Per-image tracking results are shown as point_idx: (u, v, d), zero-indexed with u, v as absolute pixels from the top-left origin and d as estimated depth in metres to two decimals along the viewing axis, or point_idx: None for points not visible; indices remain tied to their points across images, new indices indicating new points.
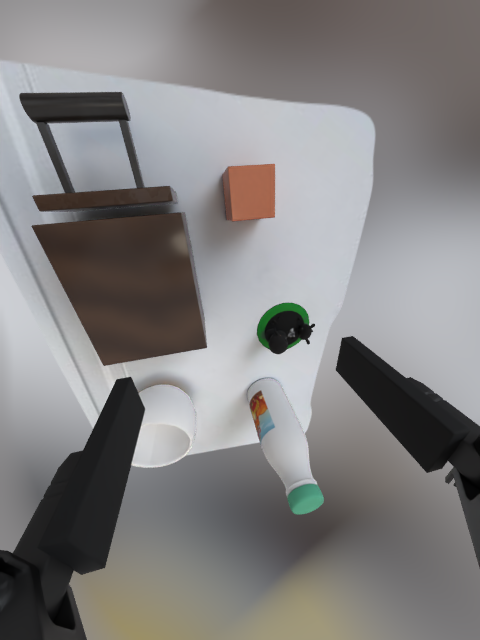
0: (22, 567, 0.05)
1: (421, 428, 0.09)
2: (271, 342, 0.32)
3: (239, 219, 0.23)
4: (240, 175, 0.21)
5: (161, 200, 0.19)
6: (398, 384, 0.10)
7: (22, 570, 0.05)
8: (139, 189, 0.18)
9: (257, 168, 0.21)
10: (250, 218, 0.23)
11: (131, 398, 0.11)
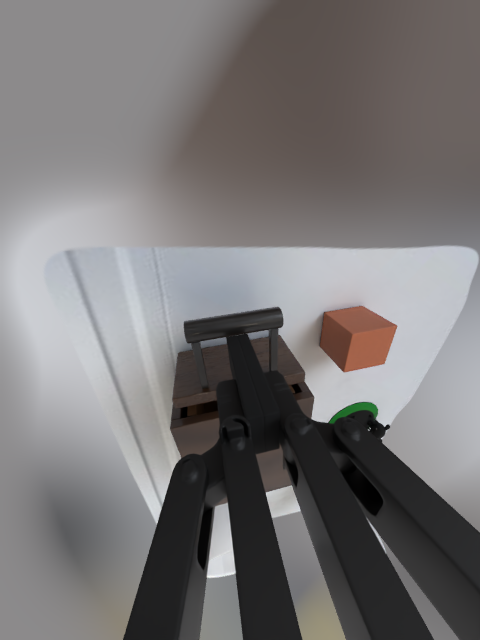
0: (249, 435, 0.08)
1: None
2: None
3: (350, 370, 0.22)
4: (362, 338, 0.20)
5: (293, 383, 0.18)
6: (252, 375, 0.11)
7: (248, 437, 0.08)
8: None
9: (379, 331, 0.20)
10: (361, 368, 0.22)
11: None
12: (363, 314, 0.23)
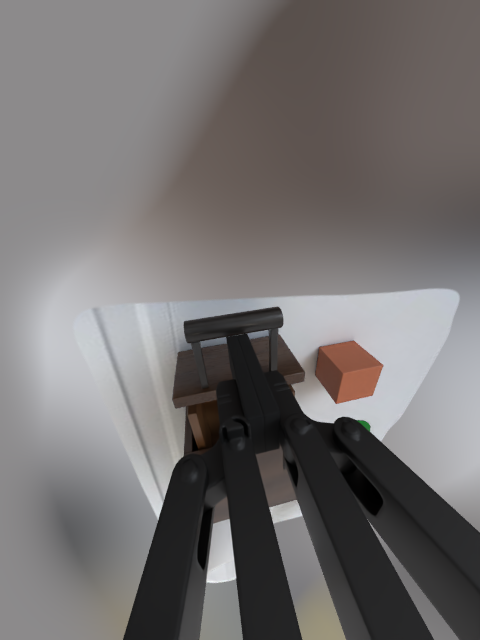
0: (249, 435, 0.08)
1: None
2: None
3: (342, 401, 0.25)
4: (352, 376, 0.23)
5: (293, 383, 0.18)
6: (252, 375, 0.11)
7: (248, 437, 0.08)
8: None
9: (367, 370, 0.23)
10: (351, 399, 0.25)
11: None
12: (354, 350, 0.25)
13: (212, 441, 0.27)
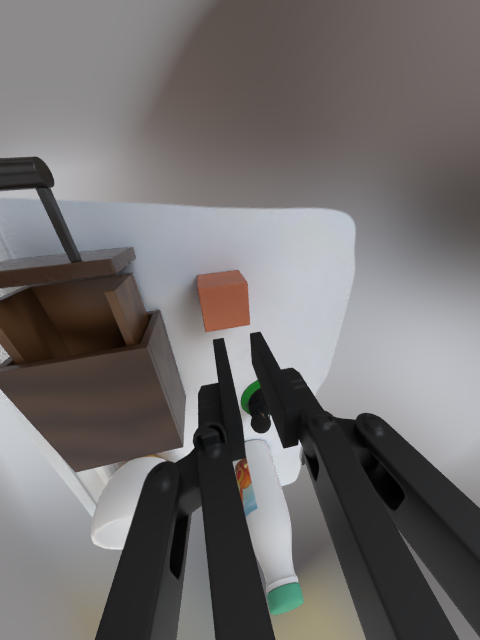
0: (225, 441, 0.08)
1: (277, 409, 0.10)
2: (253, 423, 0.32)
3: (213, 330, 0.22)
4: (211, 294, 0.20)
5: (101, 274, 0.16)
6: (270, 372, 0.11)
7: (224, 443, 0.08)
8: (71, 264, 0.15)
9: (229, 287, 0.20)
10: (224, 328, 0.23)
11: None
12: (229, 275, 0.23)
13: None
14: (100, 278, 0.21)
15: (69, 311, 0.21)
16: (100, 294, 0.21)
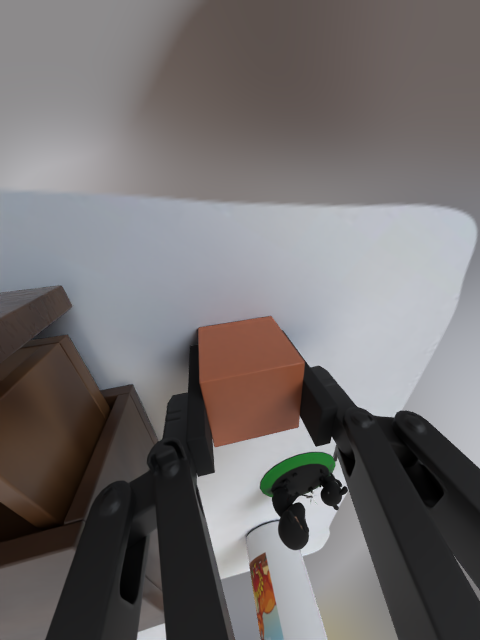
0: (184, 456, 0.07)
1: (310, 407, 0.10)
2: (283, 534, 0.21)
3: (228, 443, 0.11)
4: (228, 389, 0.10)
5: None
6: None
7: (183, 458, 0.07)
8: None
9: (266, 374, 0.10)
10: (251, 437, 0.12)
11: None
12: (259, 333, 0.12)
13: None
14: None
15: None
16: (0, 381, 0.10)
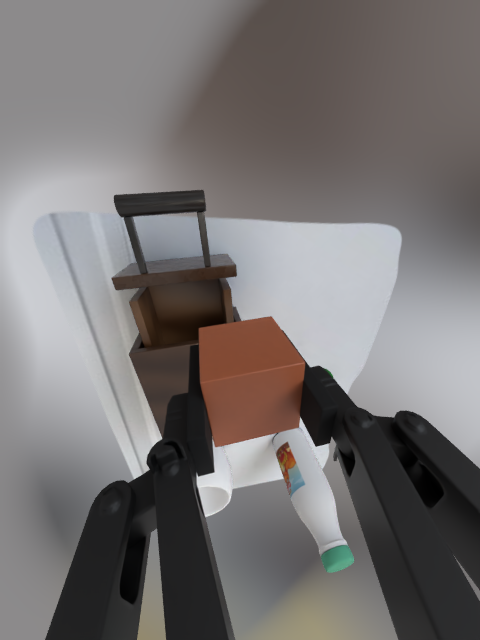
0: (184, 456, 0.07)
1: (310, 407, 0.10)
2: None
3: (229, 443, 0.11)
4: (229, 390, 0.10)
5: (226, 276, 0.20)
6: None
7: (183, 458, 0.07)
8: (208, 268, 0.19)
9: (267, 375, 0.10)
10: (251, 438, 0.12)
11: None
12: (259, 333, 0.12)
13: None
14: None
15: (171, 306, 0.26)
16: (198, 292, 0.26)
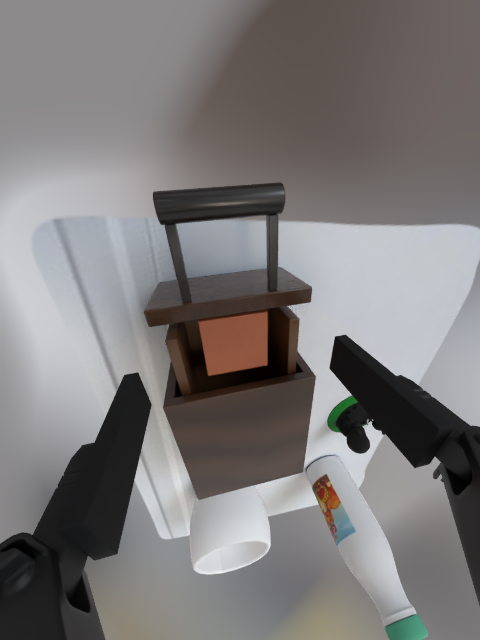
0: (42, 550, 0.06)
1: (409, 424, 0.09)
2: (353, 442, 0.30)
3: (218, 373, 0.17)
4: (217, 329, 0.15)
5: (297, 303, 0.15)
6: (387, 381, 0.10)
7: (42, 553, 0.06)
8: (275, 293, 0.14)
9: (242, 319, 0.15)
10: (233, 370, 0.17)
11: (138, 393, 0.11)
12: None
13: None
14: None
15: None
16: None
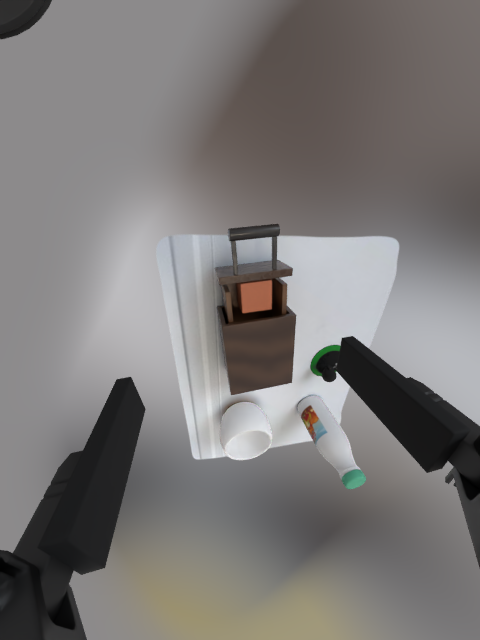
0: (22, 567, 0.05)
1: (421, 428, 0.09)
2: (325, 374, 0.47)
3: (247, 312, 0.33)
4: (248, 288, 0.31)
5: (286, 275, 0.31)
6: (398, 384, 0.10)
7: (22, 570, 0.05)
8: (275, 271, 0.31)
9: (260, 283, 0.31)
10: (254, 311, 0.34)
11: (131, 398, 0.11)
12: None
13: None
14: None
15: None
16: None
